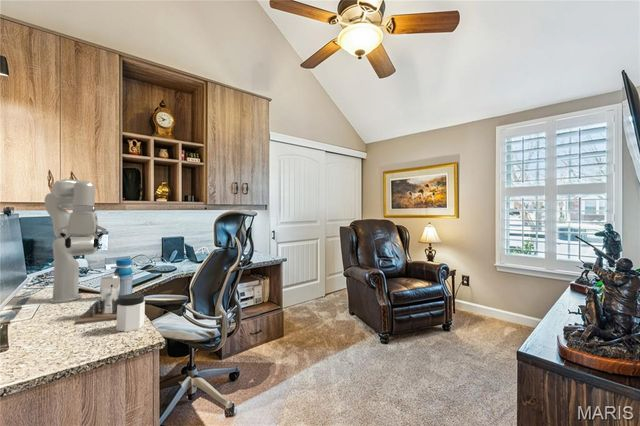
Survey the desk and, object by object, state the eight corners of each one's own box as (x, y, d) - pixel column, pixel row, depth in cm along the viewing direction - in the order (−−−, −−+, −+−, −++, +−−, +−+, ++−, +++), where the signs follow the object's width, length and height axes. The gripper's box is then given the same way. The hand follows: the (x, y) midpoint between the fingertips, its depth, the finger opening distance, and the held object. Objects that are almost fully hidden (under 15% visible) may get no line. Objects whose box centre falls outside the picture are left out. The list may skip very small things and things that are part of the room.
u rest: (90, 309, 129) (91, 298, 129) (137, 305, 137) (137, 294, 137) (75, 324, 111) (75, 311, 111) (129, 318, 119) (130, 306, 119)
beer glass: (122, 310, 125) (124, 276, 126) (106, 315, 119) (107, 279, 119) (111, 308, 128) (113, 275, 128) (95, 313, 121) (96, 278, 121)
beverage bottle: (125, 299, 146) (126, 260, 146) (108, 299, 146) (110, 260, 146) (135, 295, 154) (137, 258, 155) (120, 295, 154) (121, 258, 155)
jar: (111, 329, 106) (112, 297, 106) (131, 322, 114) (132, 292, 114) (129, 333, 103) (130, 299, 104) (148, 325, 111) (149, 294, 111)
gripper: (108, 210, 136) (107, 246, 135) (62, 209, 128) (60, 247, 128) (104, 210, 129) (103, 247, 128) (55, 208, 121) (53, 248, 121)
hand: (82, 247), depth 128 cm, fingers open, 9 cm apart
